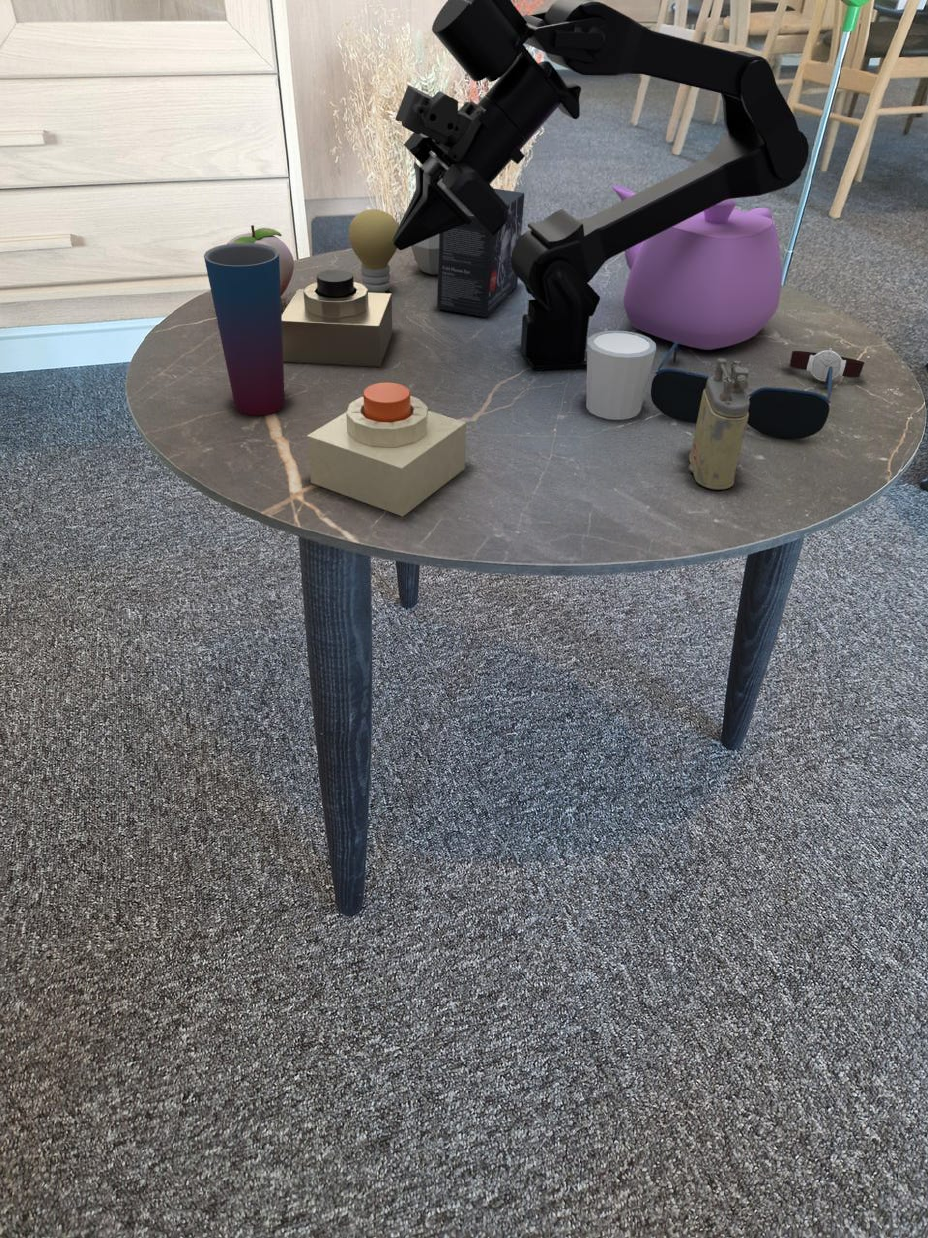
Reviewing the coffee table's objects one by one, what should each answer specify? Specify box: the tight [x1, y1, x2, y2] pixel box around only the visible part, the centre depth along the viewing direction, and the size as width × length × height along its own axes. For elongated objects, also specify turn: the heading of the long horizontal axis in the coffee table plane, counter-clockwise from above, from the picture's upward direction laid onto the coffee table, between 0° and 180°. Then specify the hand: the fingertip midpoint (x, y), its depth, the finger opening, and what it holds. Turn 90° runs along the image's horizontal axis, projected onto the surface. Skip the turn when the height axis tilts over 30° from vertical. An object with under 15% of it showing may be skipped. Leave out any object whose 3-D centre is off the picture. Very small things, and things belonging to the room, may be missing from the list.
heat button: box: [316, 269, 355, 298], centre depth 103 cm, size 4×4×2 cm
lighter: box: [688, 358, 750, 490], centre depth 83 cm, size 7×4×10 cm, turn 177°
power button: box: [362, 382, 411, 422], centre depth 80 cm, size 4×4×2 cm
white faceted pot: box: [410, 234, 439, 276], centre depth 126 cm, size 8×8×7 cm
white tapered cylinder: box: [585, 330, 657, 421], centre depth 94 cm, size 7×7×7 cm
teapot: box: [611, 184, 783, 351], centre depth 112 cm, size 23×21×15 cm
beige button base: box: [281, 281, 393, 368], centre depth 105 cm, size 11×10×6 cm
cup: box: [203, 243, 286, 416], centre depth 90 cm, size 7×7×15 cm
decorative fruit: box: [226, 224, 295, 296], centre depth 113 cm, size 9×8×10 cm
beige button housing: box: [306, 395, 467, 518], centre depth 82 cm, size 10×10×6 cm
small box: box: [436, 188, 525, 318], centre depth 117 cm, size 13×7×12 cm, turn 160°
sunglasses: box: [650, 342, 833, 440], centre depth 98 cm, size 17×15×5 cm
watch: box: [789, 347, 865, 382], centre depth 103 cm, size 8×5×4 cm, turn 70°
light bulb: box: [348, 208, 399, 293], centre depth 119 cm, size 6×6×10 cm
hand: (395, 246), depth 93 cm, fingers closed
